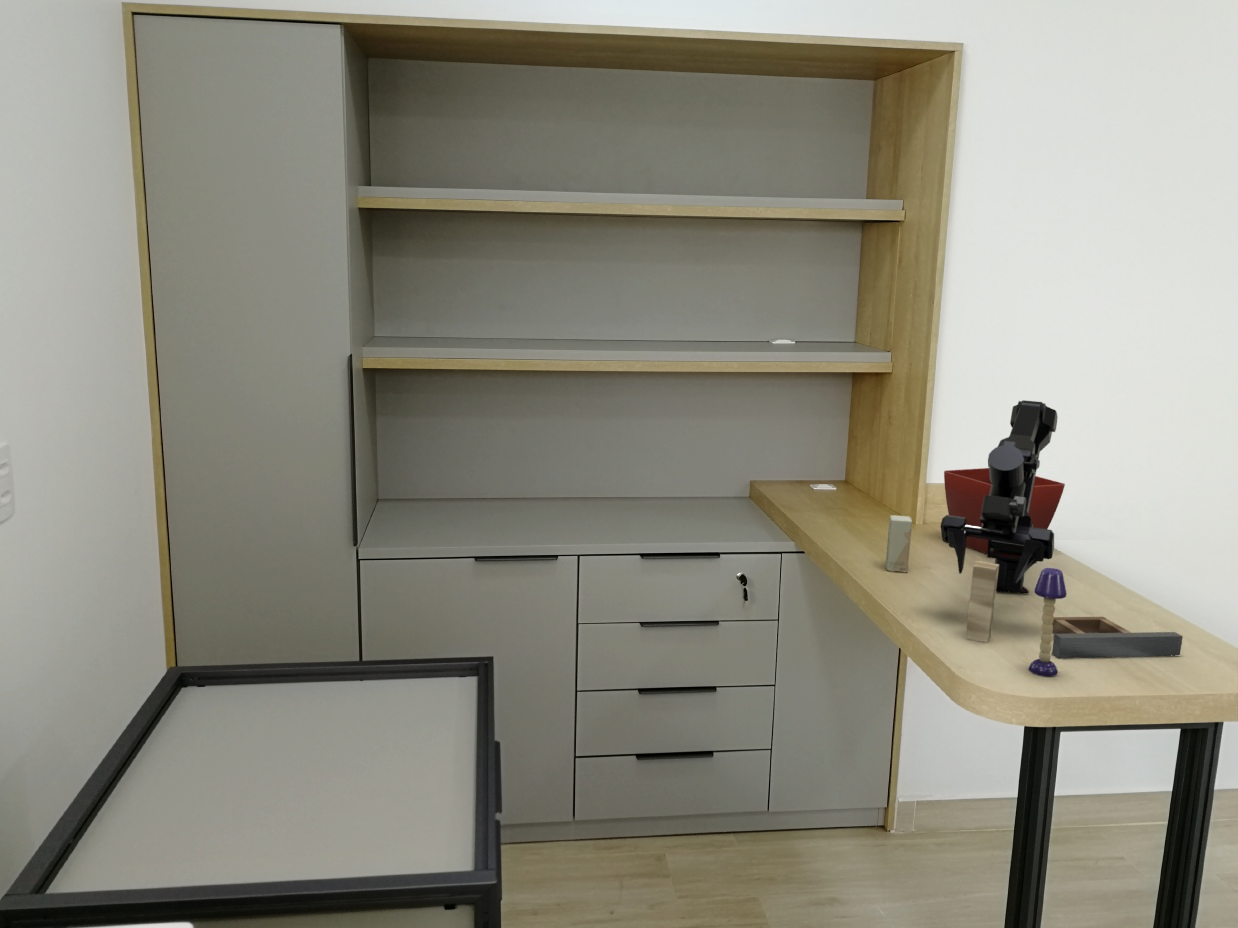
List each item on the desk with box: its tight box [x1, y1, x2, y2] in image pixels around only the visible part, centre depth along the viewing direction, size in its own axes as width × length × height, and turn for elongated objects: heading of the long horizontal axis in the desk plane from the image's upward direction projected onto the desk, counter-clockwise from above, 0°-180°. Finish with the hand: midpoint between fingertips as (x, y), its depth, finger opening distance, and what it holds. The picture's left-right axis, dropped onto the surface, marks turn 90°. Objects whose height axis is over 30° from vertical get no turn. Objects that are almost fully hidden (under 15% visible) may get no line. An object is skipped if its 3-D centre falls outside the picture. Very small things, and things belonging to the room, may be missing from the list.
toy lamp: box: [1028, 567, 1067, 677], centre depth 162 cm, size 5×5×17 cm
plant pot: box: [943, 467, 1066, 555], centre depth 235 cm, size 19×19×17 cm
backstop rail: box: [1051, 631, 1183, 659], centre depth 171 cm, size 2×22×4 cm, turn 98°
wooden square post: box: [964, 560, 999, 644], centre depth 176 cm, size 4×4×13 cm
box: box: [885, 514, 913, 573], centre depth 216 cm, size 5×4×11 cm
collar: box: [1051, 616, 1132, 634], centre depth 178 cm, size 10×10×2 cm
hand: (987, 576), depth 178 cm, fingers open, 9 cm apart
